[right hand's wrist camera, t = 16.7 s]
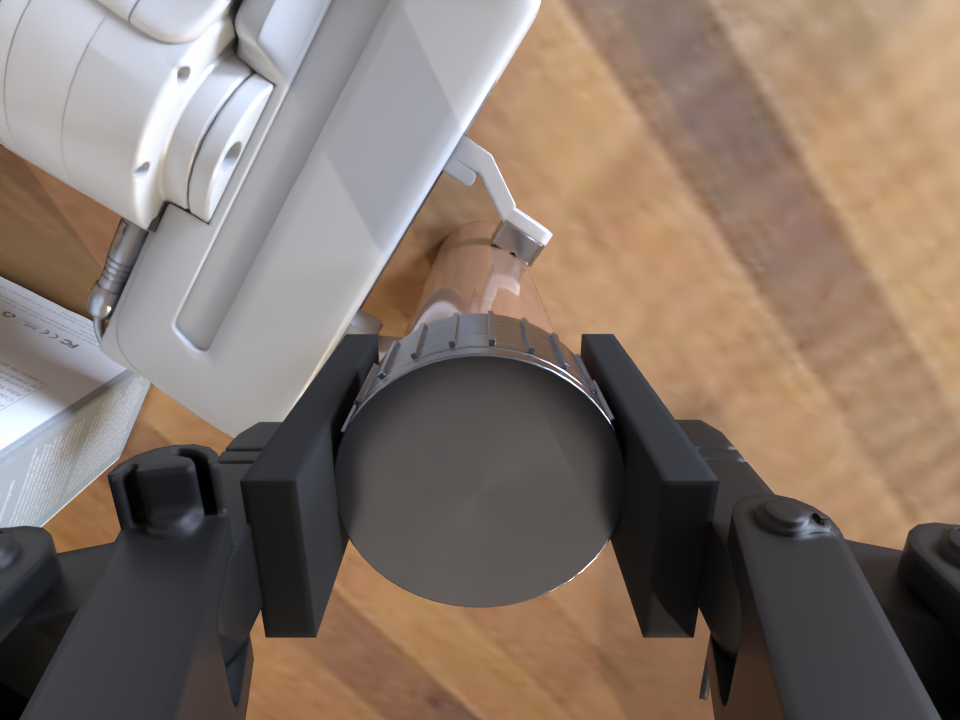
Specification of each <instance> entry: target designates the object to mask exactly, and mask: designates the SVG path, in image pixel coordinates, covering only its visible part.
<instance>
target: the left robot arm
mask: <svg viewBox="0 0 960 720" xmlns="http://www.w3.org/2000/svg"><path fill="white" fill-rule="evenodd" d="M540 4H541V0H0V144H2V145H3V146H5V147H6V148H7V149H9V150H10V151H12V152H13V153H15V154H16V155H18V156H20V157H22V158H23V159H25V160H27V161H29V162H30V163H32V164H34V165H35V166H37V167H39V168H40V169H42V170H44V171H45V172H47V173H49V174H51V175H52V176H54V177H56V178H57V179H59V180H61V181H62V182H64V183H66V184H68V185H69V186H71V187H73V188H74V189H76V190H78V191H79V192H81V193H83V194H85V195H87V196H88V197H90V198H91V199H93V200H95V201H97V202H98V203H100V204H102V205H103V206H105V207H107V208H108V209H110V210H112V211H114V212H115V213H117V214H119V215H120V216H122V218H121V220H120V223H119V225H118V228H117V230H116V233H115V235H114V237H113V240H112V242H111V245H110V248H109V251H108V254H107V258H106V262H105V266H104V268H103V272H102V273H101V276H100V278H99V280H97V281H96V282H95V283H94V285H93V287H92V289H91V291H90V294H89V297H88V301H87V312H88V313H89V314H90V315H92V316H93V328H94V332H95V336H96V338H97V340H98V342H99V345H100V349H101V351H102V352H103V353H104V354H105V355H106V356H107V357H108V358H109V359H111V360H112V361H114V362H115V363H117V364H119V365H121V366H123V367H125V368H127V369H128V370H130V371H132V372H134V373H136V374H138V375H140V376H141V377H144V378H146V379H147V380H148V381H150V382H151V383H152V384H153V385H155V386H156V387H157V388H159V389H160V390H161V391H163V392H164V393H165V394H167V395H168V396H169V397H171V398H172V399H173V400H175V401H176V402H178V403H179V404H181V405H182V406H183V407H185V408H186V409H188V410H189V411H191V412H192V413H194V414H195V415H197V416H198V417H200V418H201V419H203V420H204V421H206V422H207V423H209V424H211V425H212V426H214V427H215V428H217V429H218V430H220V431H222V432H223V433H225V434H227V435H228V436H230V437H232V438H234V439H235V437H236V436H237V435H238V434H240V433H241V432H243V431H245V430H246V429H248V428H250V427H251V426H253V425H255V424H257V423H258V422H283V421H284V419H285V418H286V417H287V415H288V414H289V412H290V411H291V410H292V408H293V407H294V405H295V404H296V403H297V401H298V400H299V399H300V397H301V396H302V394H303V393H304V392H305V390H306V389H307V388H308V386H309V385H310V383H311V382H312V381H313V379H314V378H315V376H316V375H317V374H318V372H319V371H320V370H321V368H322V367H323V365H324V364H325V363H326V361H327V360H328V359H329V357H330V356H331V354H332V353H333V352H334V350H335V349H336V347H337V346H338V345H339V343H340V342H341V341H342V339H343V338H344V336H345V335H346V334H377V335H378V334H379V332H380V331H381V329H382V327H383V324H382V322H381V321H379V320H378V319H376V318H374V317H373V316H371V315H369V314H368V313H366V312H365V311H363V310H361V308H362V306H363V305H364V303H365V301H366V300H367V298H368V296H369V295H370V293H371V291H372V290H373V288H374V286H375V285H376V283H377V281H378V280H379V278H380V276H381V275H382V273H383V271H384V270H385V268H386V266H387V265H388V263H389V261H390V260H391V258H392V256H393V255H394V253H395V251H396V250H397V248H398V246H399V245H400V243H401V241H402V240H403V238H404V236H405V235H406V233H407V231H408V230H409V228H410V226H411V225H412V223H413V221H414V220H415V218H416V216H417V215H418V213H419V211H420V210H421V208H422V206H423V205H424V203H425V201H426V200H427V198H428V196H429V195H430V193H431V191H432V190H433V188H434V186H435V185H436V183H437V181H438V180H439V178H440V176H441V175H442V173H443V171H444V172H445V173H447V174H448V175H450V176H451V177H453V178H454V179H456V180H457V181H459V182H460V183H462V184H463V185H465V186H466V187H468V186H471V185H472V184H473V182H474V180H475V179H476V177H477V173H478V174H479V175H480V177H481V179H482V181H483V183H484V185H485V187H486V189H487V191H488V193H489V195H490V197H491V199H492V201H493V203H494V205H495V207H496V209H497V211H498V213H499V216H500V218H501V222H500V223H499V225H498V226H497V228H496V230H495V231H494V233H493V234H492V236H491V237H492V243H493V244H495V245H496V246H498V247H499V248H501V249H502V250H504V251H506V252H508V253H509V252H514V253H515V255H516V258H517V259H518V260H519V261H521V262H522V263H523V264H525V265H527V266H529V267H531V265H532V264H533V263H534V261H535V260H536V258H537V257H538V255H539V254H540V253H541V251H542V250H543V248H544V247H545V245H546V244H547V243H548V241H549V240H550V238H551V237H552V233H551V232H550V231H549V230H547V229H546V228H545V227H544V226H542V225H541V224H539V223H538V222H537V221H535V220H534V219H532V218H531V217H529V216H528V215H526V214H525V213H523V212H522V211H520V210H519V209H518V208H516V207H515V206H516V205H515V203H514V201H513V199H512V197H511V195H510V193H509V190H508V188H507V186H506V184H505V182H504V180H503V178H502V176H501V174H500V171H499V169H498V167H497V165H496V163H495V161H494V159H493V157H492V155H491V154H490V153H488V152H487V151H486V150H484V149H483V148H481V147H480V146H479V145H477V144H476V143H474V142H473V141H471V140H470V139H469V138H467V137H466V136H465V135H466V133H467V131H468V130H469V128H470V126H471V125H472V123H473V121H474V120H475V118H476V116H477V115H478V113H479V111H480V110H481V108H482V106H483V105H484V103H485V101H486V100H487V98H488V96H489V95H490V93H491V91H492V90H493V88H494V86H495V85H496V83H497V81H498V80H499V78H500V76H501V75H502V73H503V71H504V70H505V68H506V66H507V65H508V63H509V61H510V60H511V58H512V56H513V55H514V53H515V51H516V50H517V48H518V46H519V45H520V43H521V41H522V40H523V38H524V36H525V35H526V33H527V31H528V30H529V28H530V26H531V25H532V23H533V21H534V19H535V17H536V15H537V13H538V10H539V7H540ZM109 319H110V321H109V323H108V326H107V328H105V320H109ZM402 338H403V337H392V336H379V335H378V350H379V362H380V361H381V360H382V358H383V357H384V356H385V355H386V353H387V352H388V351H389V349H390V347H391V345H392V343H393V342H394V341H395V340H397V341H398V342H399V341H400V340H402Z"/></svg>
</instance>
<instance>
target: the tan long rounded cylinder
mask: <svg viewBox="0 0 960 720" xmlns="http://www.w3.org/2000/svg"><path fill="white" fill-rule="evenodd" d="M496 228H497V225H494V224H491V223H485V222H476V223H470V224H466V225H463V226H461V227H459V228H457V229H456V230H454V231H453V232H451V233H450V234H449V235H448V236H447V237H446V239H445V240H444V241H443V243H442V244H441V246H440V248H439V251H438V253H437V256H436V258H435V260H434V263H433V265H432V268H431V270H430V273H429V275H428V277H427V280H426V282H425V285H424V287H423V289H422V292H421V294H420V297H419V299H418V302H417V304H416V306H415V309H414V311H413V314H412V316H411V319H410V321H409V323H408V326H407V328H406V331H405V333H404V335H403V338H404V337H406V336H407V335H408V334H410V333H411V332H413V331H415V330H417V329H419V327H420V324H422V323H424V322H425V323H426V324H429V323H432V322H434V321H437V320H439V319H443V318H447V317H451V316H453V313H457V312H458V313H459V315H462V314H471V313H488V311H493V313H494V314H497V315H504V316H509V317H513V318H516V319H520V320H521V319H522V317H523V318H526V319H527V320H528V323H530V324H533V325H535V326H538V327H539V328H541V329H543V330H545V331H546V332H548V333H550V334H552V332H554V333H555V331H554V328H553V326H552V324H551V321H550V319H549V316H548V314H547V311H546V309H545V307H544V304H543V302H542V299H541V297H540V295H539V292H538V290H537V287H536V285H535V282H534V280H533V278H532V275H531V273H530V270H529V268H528V266H527V265H525V264H523V263H522V262H521V261H519V260H518V259H517V258H516V255H515V253H514V252H509V253H508V252H506V251H504V250H502V249H501V248H499V247H498V246H496V245H495V244H493V243H492V237H491V236H492V234H493V233H494V231H495V230H496ZM555 334H556V333H555ZM403 338H402V339H403Z"/></svg>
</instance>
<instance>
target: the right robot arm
mask: <svg viewBox="0 0 960 720" xmlns="http://www.w3.org/2000/svg"><path fill="white" fill-rule="evenodd" d="M581 358H582V360H583V362H584V364H585V366H586V368H587V370H588V373H589V375H590V377H591V379H592V381H593V380H596V382H597V384H598V386H599V388H600V390H601V392H602V394H603V396H604V398H605V400H606V402H607V404H608V406H609V408H610V410H611V412H612V414H613V416H614V418H615V420H616V423H615V424H613V427H614V429H615V431H616V433H617V435H618V438H619V441H620V444H621V447H622V450H623V454H624V459H625V479H624V489H623V499H622V508H621V516H620V519H619V522H618V524H617V526H616V528H615V531H614V533H613V535H612V536H611V538H610V539H611V542H612V545H613V548H614V551H615V554H616V557H617V560H618V563H619V566H620V569H621V572H622V575H623V578H624V581H625V584H626V587H627V590H628V593H629V596H630V599H631V602H632V605H633V608H634V611H635V614H636V617H637V620H638V623H639V626H640V629H641V632H642V635H643V637H694V632H695V626H696V620H697V614H698V608H700V610H701V612H702V614H703V616H704V619H705V621H706V623H707V625H708V627H709V629H710V631H711V633H710V638H709V644H708V649H707V655H706V661H705V666H704V672H703V677H702V683H701V690H700V697H699V698H700V699H705V700H708V694H709V689H711V696H712V703H713V710H714V717H715V720H960V525H955V524H953V525H951V524H942V523H927V524H920V525H917V526H916V527H914V528H913V529H912V530H910V531H909V533H908V536H907V540H906V543H905V546H904V549H903V551H901V550H896V549H891V548H886V547H880V546H875V545H870V544H865V543H859V542H855V541H851V540H846V539H844V537H843V535H842V533H841V531H840V530H839V528H838V527H837V526H836V525H835V523H834V522H833V521H832V520H831V519H830V518H829V517H828V516H827V515H825V514H824V513H822V512H821V511H819V510H818V509H816V508H814V507H813V506H810V505H808V504H805V503H803V502H801V501H798V500H796V499H793V498H788V497H783V496H779V495H775V494H774V493H773V492H772V491H771V490H770V488H769V487H768V486H767V485H766V484H765V483H764V481H763V480H762V479H761V478H760V477H759V476H758V474H757V473H756V472H755V471H754V470H753V469H752V467H751V466H750V465H749V464H748V463H747V462H744V458H743V457H742V456H741V454H740V453H739V452H738V451H737V450H734V446H733V445H732V444H731V443H730V442H729V440H728V439H727V438H726V437H725V436H724V435H723V433H722V432H720V431H718V430H717V429H715V428H713V427H712V426H710V425H708V424H706V423H705V422H703V421H701V420H675V419H674V417H673V416H672V415H671V413H670V412H669V411H668V409H667V408H666V406H665V405H664V404H663V402H662V401H661V399H660V398H659V397H658V395H657V394H656V393H655V391H654V390H653V388H652V387H651V386H650V384H649V383H648V382H647V380H646V379H645V377H644V376H643V375H642V373H641V372H640V370H639V369H638V368H637V366H636V365H635V364H634V362H633V361H632V359H631V358H630V357H629V355H628V354H627V353H626V351H625V350H624V348H623V347H622V346H621V344H620V343H619V341H618V340H617V339H616V337H615V336H614V335H613V334H582V341H581ZM374 363H375V364H377V365H378V363H379V350H378V335H377V334H346V335H345V336H344V338H343V339H342V341H341V342H340V343H339V345H338V346H337V347H336V349H335V350H334V352H333V353H332V354H331V356H330V357H329V359H328V360H327V361H326V363H325V364H324V365H323V367H322V368H321V370H320V371H319V372H318V374H317V375H316V376H315V378H314V379H313V381H312V382H311V383H310V385H309V386H308V388H307V389H306V390H305V392H304V393H303V394H302V396H301V397H300V399H299V400H298V401H297V403H296V404H295V405H294V407H293V408H292V410H291V411H290V412H289V414H288V415H287V417H286V418H285V419H284V421H283V422H258V423H257V424H255V425H253V426H251V427H250V428H248V429H246V430H245V431H243V432H241V433H240V434H238V435H237V436H236V437H235V439H234V440H233V441H232V442H231V443H230V444H229V446H228V447H227V448H226V452H223V453H222V454H221V455H220V456H219V457H218V454H217V453H216V452H215V451H213V450H212V449H211V448H209V447H205V446H200V445H195V444H191V445H173V446H167V447H162V448H156V449H153V450H150V451H147V452H144V453H141V454H138V455H135V456H133V457H132V458H130V459H128V460H126V461H124V462H122V463H121V464H119V465H117V466H116V467H115V468H114V469H113V470H112V471H111V472H110V473H109V474H108V475H107V476H108V480H109V484H110V488H111V492H112V496H113V500H114V503H115V507H116V511H117V515H118V519H119V523H120V527H121V531H120V532H119V534H118V536H117V538H116V540H115V542H112V543H108V544H104V545H99V546H93V547H88V548H83V549H78V550H73V551H68V552H62V553H57V552H56V549H55V545H54V542H53V539H52V536H51V534H50V533H49V532H47V531H46V530H45V529H43V528H41V527H34V526H17V527H8V528H7V527H4V528H0V720H245V719H246V712H247V704H248V697H249V690H250V683H251V675H252V668H253V661H254V658H253V650H252V644H251V638H250V631H251V629H252V627H253V624H254V622H255V620H256V618H257V616H258V614H259V612H260V610H261V612H262V618H263V624H264V630H265V636H266V637H316V636H317V633H318V630H319V627H320V624H321V621H322V618H323V615H324V612H325V609H326V606H327V603H328V600H329V597H330V594H331V591H332V588H333V585H334V582H335V579H336V576H337V573H338V570H339V567H340V564H341V561H342V558H343V555H344V552H345V549H346V546H347V543H348V540H349V537H348V535H347V533H346V531H345V530H344V527H343V525H342V522H341V520H340V517H339V514H338V505H337V496H336V486H335V475H334V462H335V458H336V453H337V449H338V446H339V443H340V441H341V438H342V436H339V433H340V430H341V428H342V426H343V424H344V422H345V420H346V418H347V416H348V414H349V412H350V410H351V408H352V406H353V403H354V401H355V399H356V397H357V395H358V393H359V391H360V389H361V387H362V385H363V383H364V381H365V379H366V377H367V375H368V373H369V371H370V369H371V367H372V365H373V364H374Z"/></svg>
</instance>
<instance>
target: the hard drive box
mask: <svg viewBox="0 0 960 720" xmlns="http://www.w3.org/2000/svg"><path fill="white" fill-rule="evenodd" d="M150 384H151V382H150V381H148V380H147V379H146V378H144V377H141V376H140V375H138V374H136V373H134V372H132V371H130V370H128V369H127V368H125V367H123V366H121V365H119V364H117V363H115V362H114V361H112V360H111V359H109V358H108V357H107V356H106V355H105V354H104V353H103V352H102V351H101V349H100V345H99V342H98V340H97V338H96V336H95V332H94V328H93V321H91V320H89V319H87V318H85V317H83V316H81V315H79V314H76V313H74V312H72V311H69V310H67V309H65V308H63V307H61V306H59V305H57V304H55V303H53V302H51V301H49V300H47V299H45V298H43V297H41V296H39V295H37V294H35V293H33V292H31V291H29V290H27V289H25V288H23V287H21V286H19V285H17V284H15V283H13V282H10V281H8V280H6V279H4V278H2V277H0V528H4V527H7V528H8V527H17V526H34V527H42V526H44V525H45V524H46V523H47V522H48V521H49V520H50V519H51V518H52V517H54V516H55V515H56V514H57V513H58V512H59V511H60V510H61V509H62V508H64V507H65V506H66V505H67V504H68V503H69V502H70V501H71V500H73V499H74V498H75V497H76V496H77V495H78V494H79V493H80V492H82V491H83V490H84V489H85V488H86V487H87V486H88V485H90V484H91V483H92V482H93V481H94V480H95V479H96V478H97V477H98V476H100V475H101V474H102V473H103V472H104V471H105V470H106V469H107V468H109V467H110V466H111V465H112V464H113V463H114V462H116V461H117V460H118V459H119V458H120V455H121V453H122V451H123V449H124V446H125V444H126V442H127V439H128V437H129V435H130V432H131V430H132V427H133V425H134V423H135V420H136V418H137V415H138V413H139V411H140V408H141V406H142V403H143V401H144V399H145V396H146V394H147V391H148V389H149V387H150Z"/></svg>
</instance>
